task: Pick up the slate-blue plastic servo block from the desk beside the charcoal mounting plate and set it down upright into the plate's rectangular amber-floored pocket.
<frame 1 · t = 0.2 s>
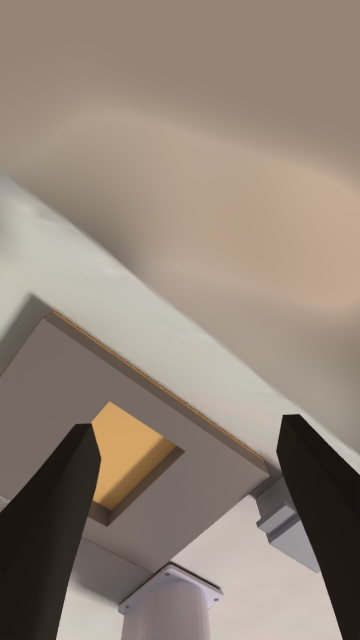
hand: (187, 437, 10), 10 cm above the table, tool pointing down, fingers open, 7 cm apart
mounting plate: (113, 452, 23), on the table
servo block: (290, 500, 25), on the table
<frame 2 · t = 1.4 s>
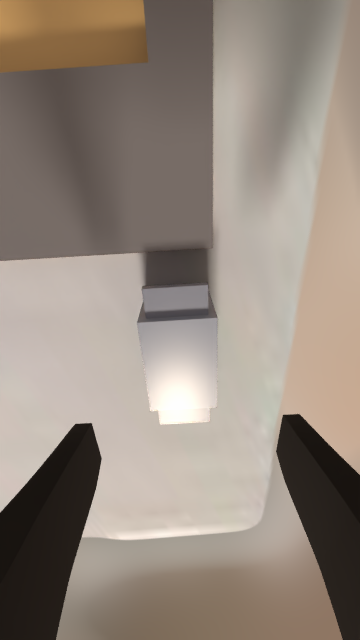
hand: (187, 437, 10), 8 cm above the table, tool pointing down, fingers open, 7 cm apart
servo block: (179, 333, 18), on the table
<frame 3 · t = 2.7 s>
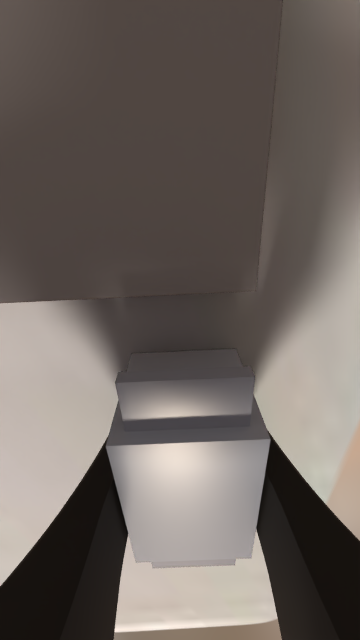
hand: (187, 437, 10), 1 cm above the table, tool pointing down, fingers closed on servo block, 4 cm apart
servo block: (186, 409, 11), on the table, touching gripper
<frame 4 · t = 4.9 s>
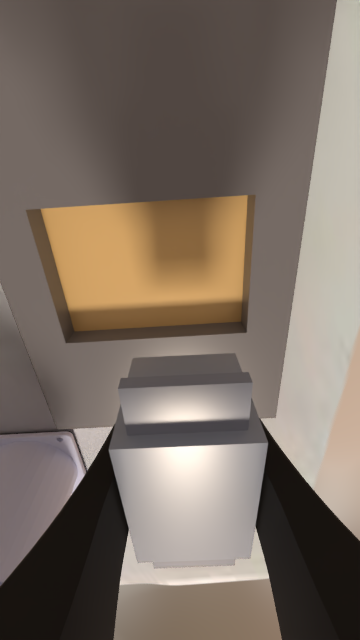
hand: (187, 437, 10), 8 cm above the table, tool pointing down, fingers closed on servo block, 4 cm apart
mounting plate: (151, 269, 16), on the table
servo block: (186, 411, 11), point 7 cm above the table, touching gripper
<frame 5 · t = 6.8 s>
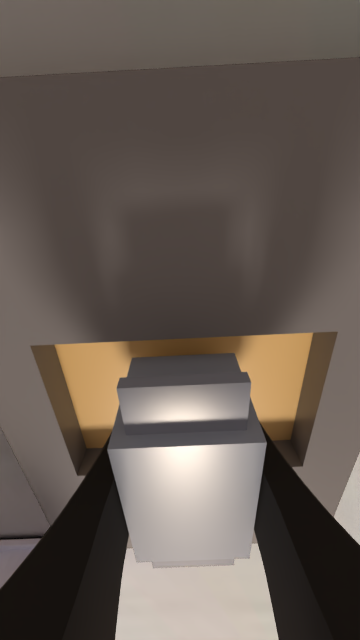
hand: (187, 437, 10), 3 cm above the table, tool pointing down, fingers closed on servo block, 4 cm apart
mounting plate: (185, 386, 12), on the table
servo block: (186, 411, 11), point 1 cm above the table, touching gripper
when the fingers open (3 cm above the table, at t = 7.0 s): servo block drops 1 cm, resting on mounting plate.
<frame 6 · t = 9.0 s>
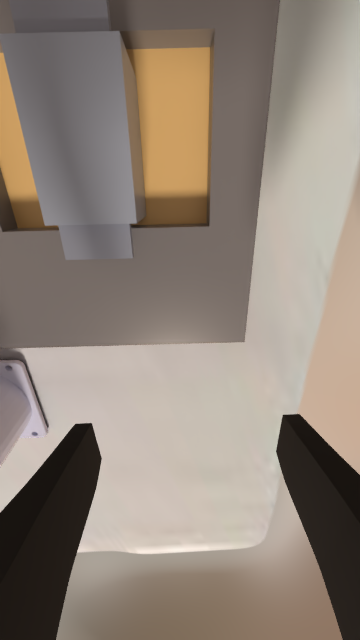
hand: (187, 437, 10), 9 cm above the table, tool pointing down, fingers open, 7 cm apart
mounting plate: (103, 150, 14), on the table
servo block: (103, 154, 13), resting on mounting plate
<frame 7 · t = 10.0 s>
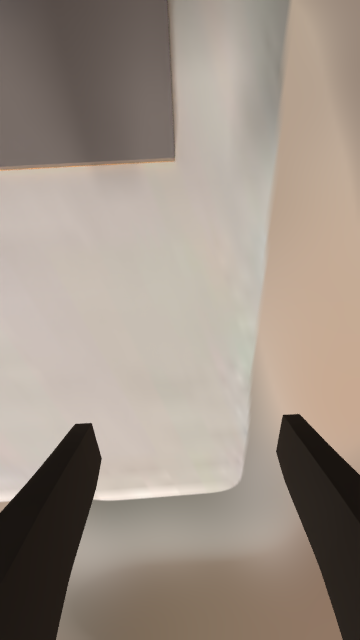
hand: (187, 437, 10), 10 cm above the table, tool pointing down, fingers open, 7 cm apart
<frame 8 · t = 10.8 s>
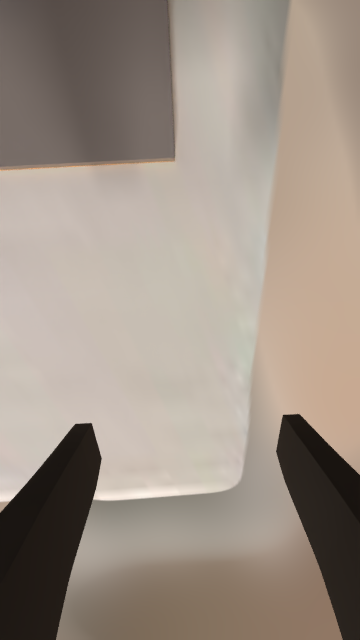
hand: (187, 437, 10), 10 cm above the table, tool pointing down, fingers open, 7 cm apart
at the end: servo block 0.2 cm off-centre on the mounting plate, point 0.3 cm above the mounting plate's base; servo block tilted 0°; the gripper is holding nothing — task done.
